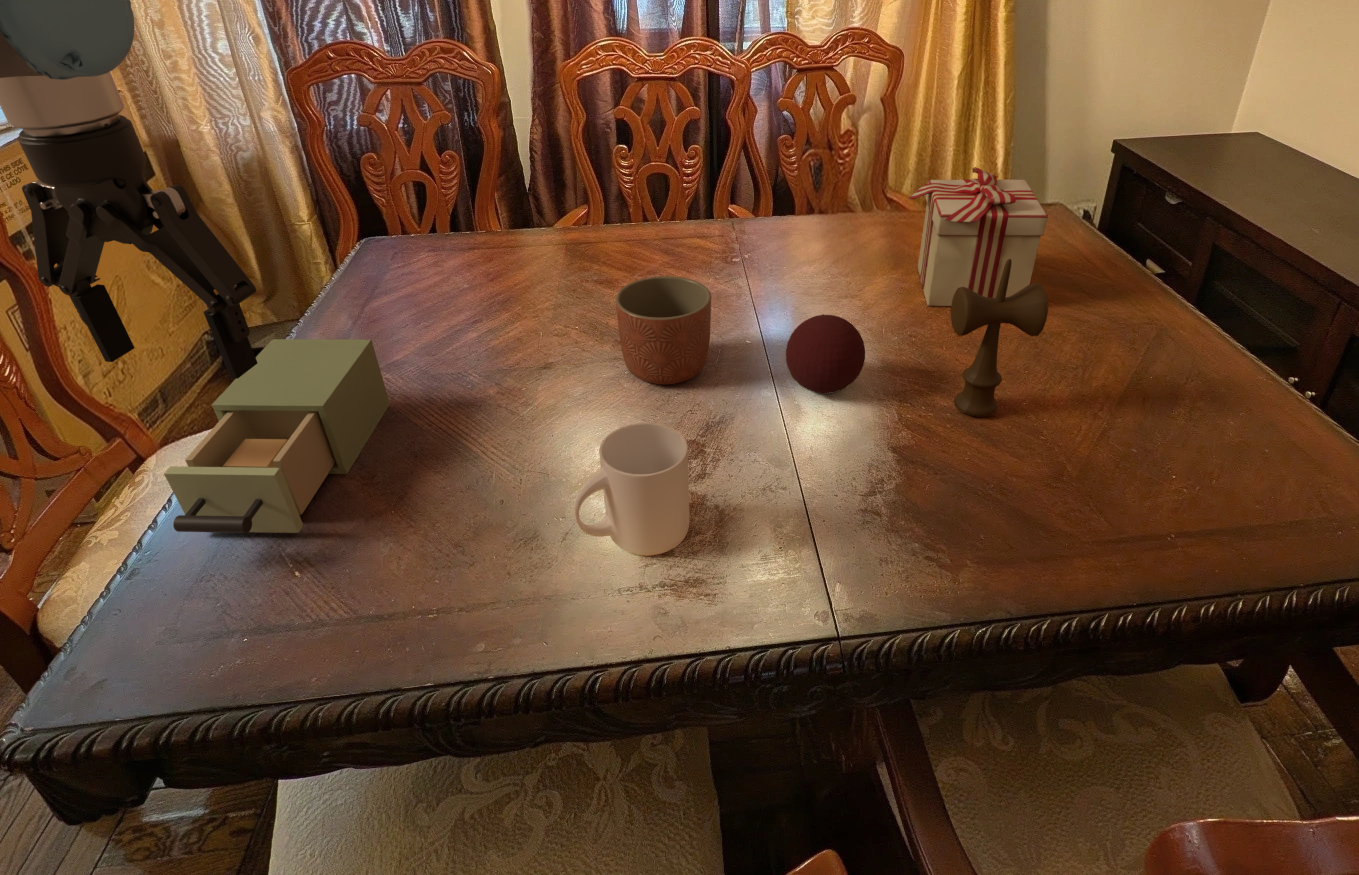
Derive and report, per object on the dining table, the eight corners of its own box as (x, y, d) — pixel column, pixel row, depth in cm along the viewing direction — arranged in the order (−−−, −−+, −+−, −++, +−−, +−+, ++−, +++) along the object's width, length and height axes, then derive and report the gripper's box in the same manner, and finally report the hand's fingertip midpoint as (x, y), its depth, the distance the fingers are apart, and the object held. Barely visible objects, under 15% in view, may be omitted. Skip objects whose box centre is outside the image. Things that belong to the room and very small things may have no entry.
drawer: (280, 562, 80) (253, 503, 75) (170, 560, 81) (137, 502, 76) (348, 454, 94) (329, 399, 90) (254, 453, 95) (231, 398, 90)
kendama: (1021, 421, 98) (1064, 269, 86) (942, 423, 98) (974, 271, 86) (1005, 394, 102) (1043, 246, 91) (929, 396, 103) (958, 248, 91)
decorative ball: (858, 413, 100) (867, 343, 94) (778, 403, 102) (782, 334, 96) (863, 371, 108) (871, 304, 102) (789, 363, 110) (793, 297, 104)
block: (281, 501, 86) (266, 466, 83) (238, 500, 86) (222, 465, 83) (301, 473, 90) (287, 439, 87) (259, 472, 90) (245, 438, 87)
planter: (702, 397, 104) (702, 322, 97) (610, 389, 106) (603, 315, 99) (718, 349, 113) (718, 278, 107) (633, 342, 116) (628, 272, 109)
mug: (565, 528, 84) (553, 446, 78) (668, 493, 88) (664, 413, 82) (595, 581, 78) (584, 498, 72) (704, 541, 82) (703, 459, 76)
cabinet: (347, 474, 93) (323, 405, 87) (241, 472, 93) (211, 404, 88) (390, 403, 104) (371, 339, 99) (296, 403, 105) (272, 338, 99)
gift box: (891, 267, 134) (905, 163, 124) (1003, 266, 133) (1027, 162, 123) (910, 315, 120) (928, 203, 110) (1035, 314, 119) (1065, 201, 109)
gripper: (245, 115, 61) (324, 356, 74) (-12, 103, 67) (103, 329, 79) (172, 144, 55) (271, 400, 68) (-102, 128, 61) (37, 368, 73)
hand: (181, 362), depth 74 cm, fingers open, 13 cm apart
